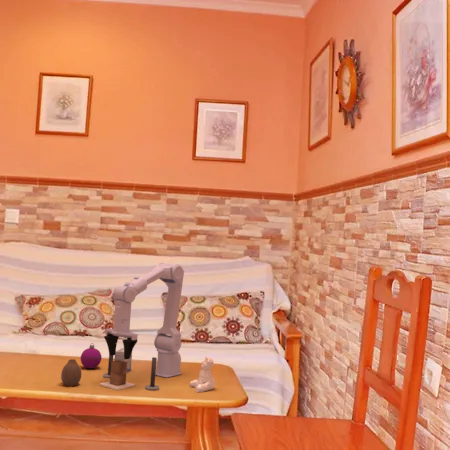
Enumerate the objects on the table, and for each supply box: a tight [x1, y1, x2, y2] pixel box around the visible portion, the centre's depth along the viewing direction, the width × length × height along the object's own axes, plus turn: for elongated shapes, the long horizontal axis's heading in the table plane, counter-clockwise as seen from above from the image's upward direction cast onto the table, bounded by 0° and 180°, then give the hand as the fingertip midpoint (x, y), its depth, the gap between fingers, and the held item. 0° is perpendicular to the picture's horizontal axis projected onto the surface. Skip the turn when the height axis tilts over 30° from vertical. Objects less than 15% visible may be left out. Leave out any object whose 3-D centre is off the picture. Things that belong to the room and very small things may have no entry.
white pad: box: [99, 380, 136, 391], centre depth 202 cm, size 9×9×1 cm
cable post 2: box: [144, 356, 160, 392], centre depth 201 cm, size 5×5×11 cm
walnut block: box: [109, 360, 128, 386], centre depth 203 cm, size 4×4×8 cm
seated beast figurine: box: [189, 355, 216, 393], centre depth 206 cm, size 10×9×12 cm
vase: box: [60, 358, 82, 387], centre depth 199 cm, size 7×7×9 cm
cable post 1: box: [102, 354, 114, 379], centre depth 214 cm, size 5×5×11 cm
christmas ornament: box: [80, 343, 102, 370], centre depth 226 cm, size 8×8×10 cm
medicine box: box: [113, 347, 133, 374], centre depth 224 cm, size 8×4×9 cm, turn 168°
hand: (119, 357), depth 203 cm, fingers open, 7 cm apart
